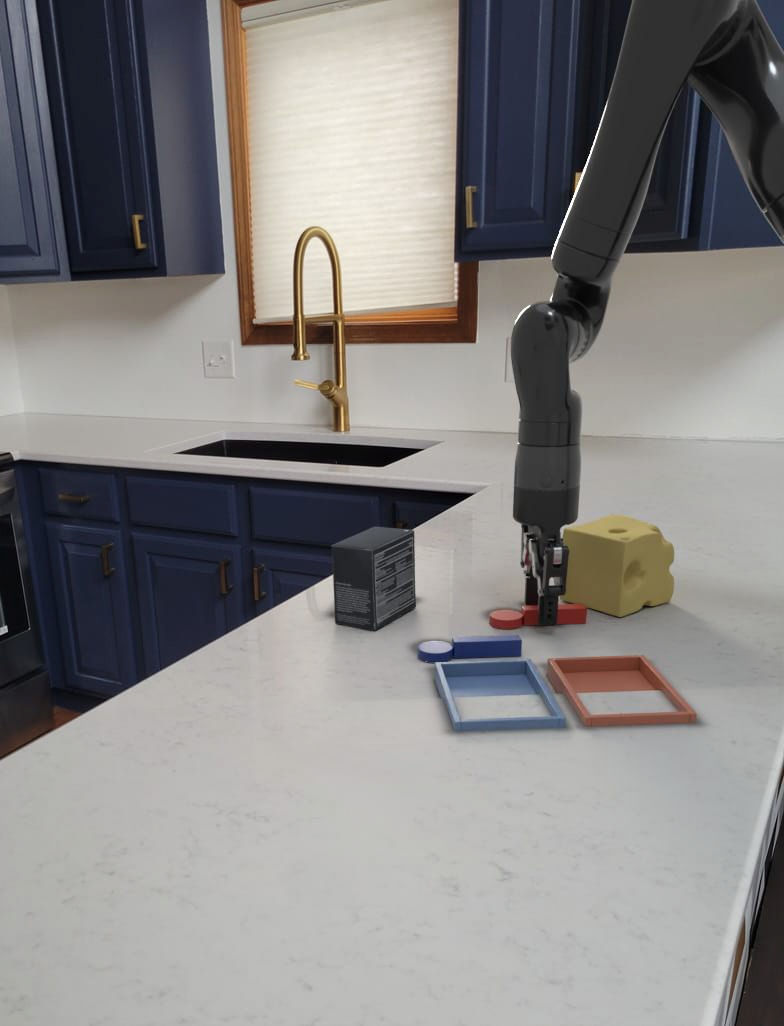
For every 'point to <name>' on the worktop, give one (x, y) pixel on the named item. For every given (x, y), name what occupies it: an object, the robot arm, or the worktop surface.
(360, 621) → the small box
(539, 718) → the blue tray
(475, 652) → the blue spoon
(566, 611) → the red spoon
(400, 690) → the worktop surface
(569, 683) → the red tray
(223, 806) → the worktop surface
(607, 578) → the cheese
